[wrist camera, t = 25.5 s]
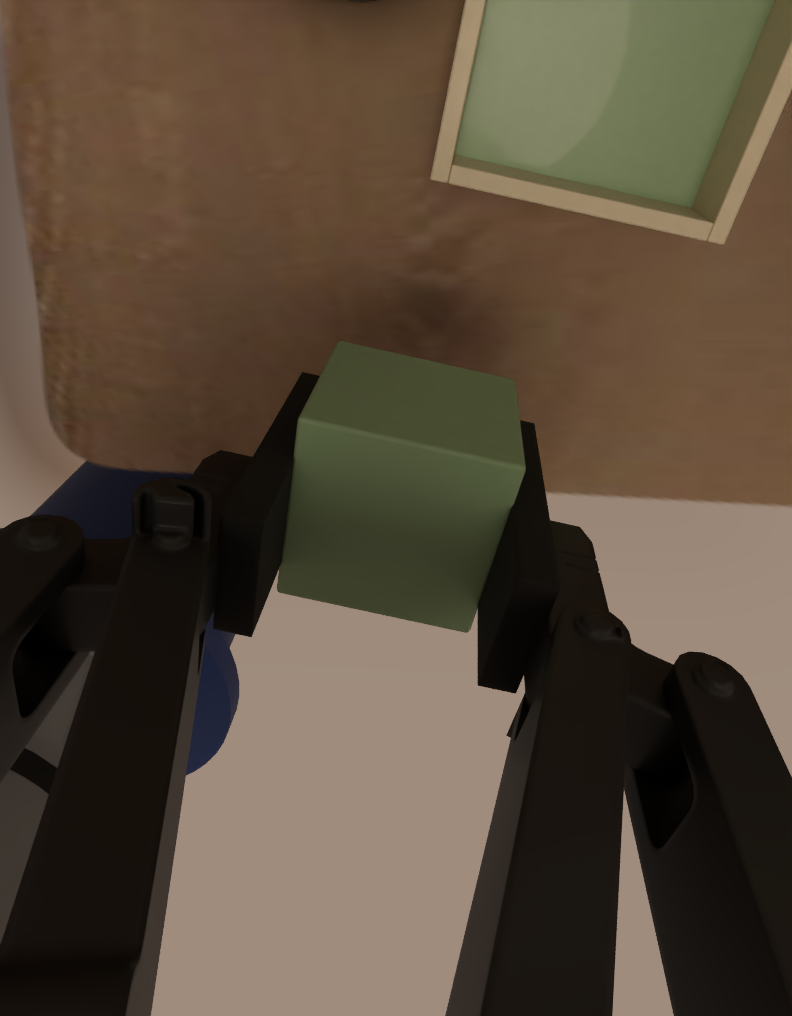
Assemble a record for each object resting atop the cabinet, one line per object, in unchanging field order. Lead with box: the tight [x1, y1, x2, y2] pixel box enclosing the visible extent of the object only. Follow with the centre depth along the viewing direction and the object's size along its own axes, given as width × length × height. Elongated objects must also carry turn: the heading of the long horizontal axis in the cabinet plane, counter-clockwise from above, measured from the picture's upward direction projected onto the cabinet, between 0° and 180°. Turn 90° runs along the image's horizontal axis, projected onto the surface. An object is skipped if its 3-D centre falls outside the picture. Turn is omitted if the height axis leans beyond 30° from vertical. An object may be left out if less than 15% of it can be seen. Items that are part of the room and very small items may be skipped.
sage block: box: [277, 341, 526, 632], centre depth 16 cm, size 4×4×4 cm
